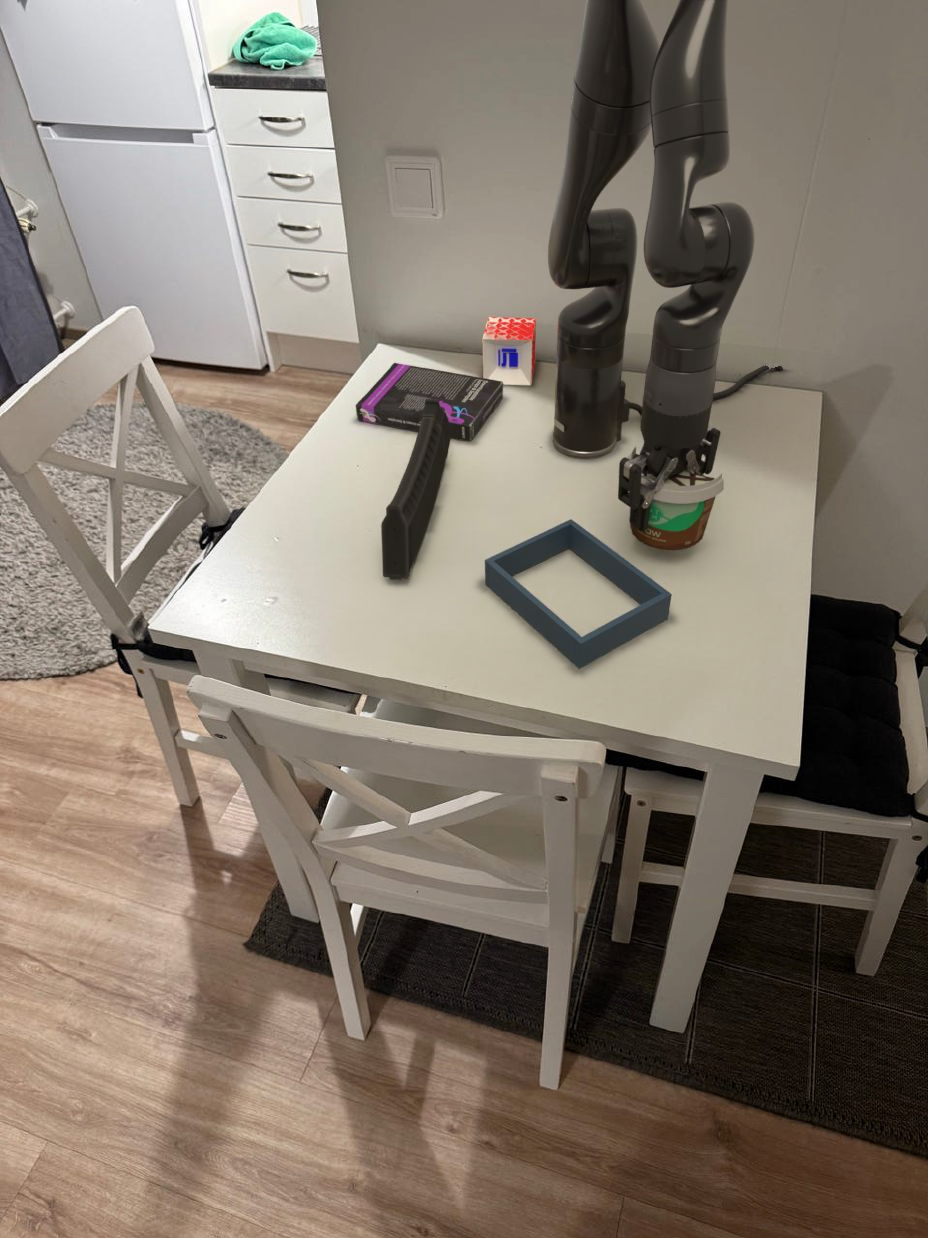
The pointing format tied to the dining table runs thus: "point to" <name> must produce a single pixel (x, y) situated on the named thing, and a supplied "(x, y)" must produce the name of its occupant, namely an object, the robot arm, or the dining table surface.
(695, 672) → the dining table surface
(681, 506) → the food container
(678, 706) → the dining table surface
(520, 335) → the white and red cube
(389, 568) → the magazine
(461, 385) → the box
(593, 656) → the blue rectangular frame
